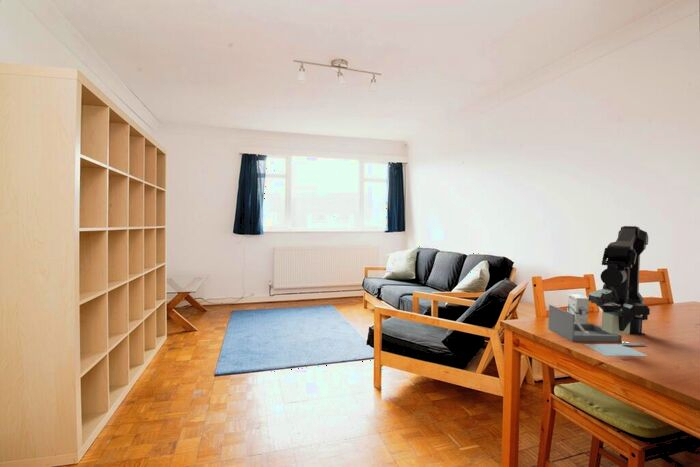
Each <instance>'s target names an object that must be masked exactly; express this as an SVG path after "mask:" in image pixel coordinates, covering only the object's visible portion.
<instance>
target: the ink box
mask: <svg viewBox="0 0 700 467" xmlns="http://www.w3.org/2000/svg"><path fill="white" fill-rule="evenodd" d="M567 296H568V297H567V308H566V309H567V310H566V311H567V312H569V313H572V314H574V315H575V318H576V320H577V321H578V322H579V323H580V324H588V317H589V304H590V301H589V297H587V296H585V295H583V294H579V293H568V295H567ZM574 324H576V323H575V321H574Z"/></svg>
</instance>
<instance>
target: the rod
mask: <svg viewBox="0 0 700 467" xmlns="http://www.w3.org/2000/svg"><path fill="white" fill-rule="evenodd" d="M620 344H621V345H623V346H627V347H647V344H646V343H644V342H631V341H621V342H620Z"/></svg>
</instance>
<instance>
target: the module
mask: <svg viewBox="0 0 700 467" xmlns="http://www.w3.org/2000/svg"><path fill="white" fill-rule="evenodd" d="M601 327H602V330H604V331H606V332H608V333H611V334H619V335H631V334H630V323H629V324H628V326H627V327H626V328H625V330H624V331H620V330H619V315H618V314H617V313H616V312H603V311H602V312H601Z"/></svg>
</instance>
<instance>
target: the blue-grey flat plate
mask: <svg viewBox="0 0 700 467" xmlns="http://www.w3.org/2000/svg"><path fill="white" fill-rule="evenodd" d="M583 345H584V346H586V347H587V348H589V349H592V350H594V351H596V352H597V353H599V354H602V355H604V356H606V357H648V355H647V354H646V353H643V352H640V351H638V350H636V349H634V348H632V347H630V346H623V345H621V343H620V344H615V343H613V344H612V343H611V344H606V343H603V344H601V343H599V344H598V343H597V344H595V343H594V344H593V343H592V344H591V343H585V344H583Z"/></svg>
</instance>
